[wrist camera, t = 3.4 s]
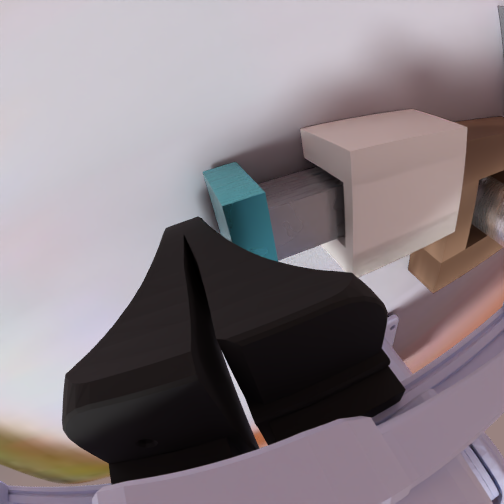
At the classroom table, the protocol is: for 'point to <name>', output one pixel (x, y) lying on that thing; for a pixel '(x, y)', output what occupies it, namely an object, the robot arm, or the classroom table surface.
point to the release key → (277, 210)
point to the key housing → (390, 182)
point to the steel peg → (490, 209)
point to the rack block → (502, 21)
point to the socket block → (465, 211)
